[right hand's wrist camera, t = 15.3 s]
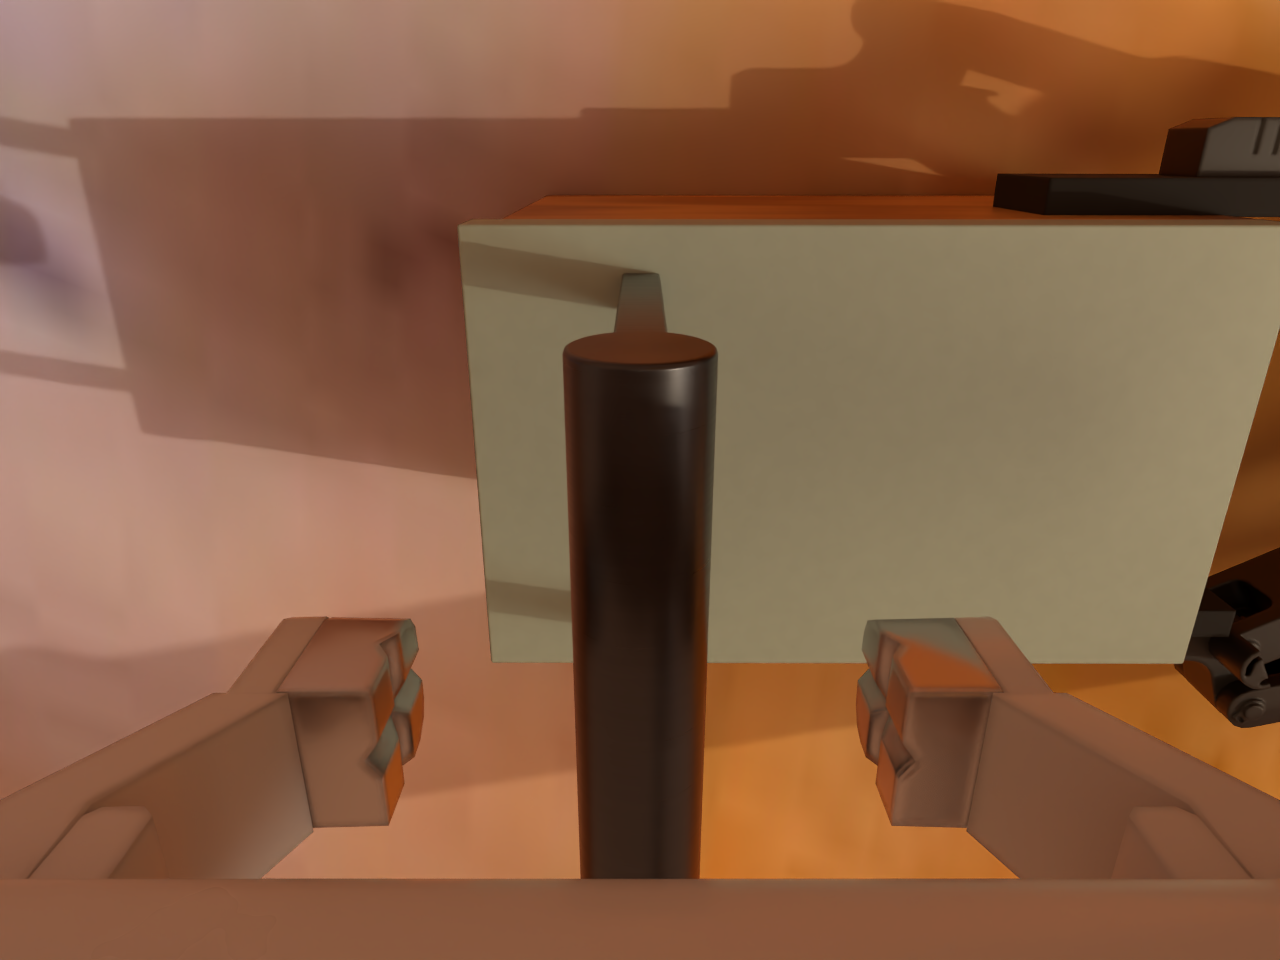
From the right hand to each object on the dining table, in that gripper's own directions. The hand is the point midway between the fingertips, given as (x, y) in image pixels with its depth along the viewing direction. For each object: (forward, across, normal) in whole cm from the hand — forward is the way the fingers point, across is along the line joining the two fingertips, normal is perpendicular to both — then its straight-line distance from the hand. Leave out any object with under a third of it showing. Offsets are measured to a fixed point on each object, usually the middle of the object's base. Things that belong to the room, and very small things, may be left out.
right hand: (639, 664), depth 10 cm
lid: (+8, +4, 0) cm, 9 cm away
